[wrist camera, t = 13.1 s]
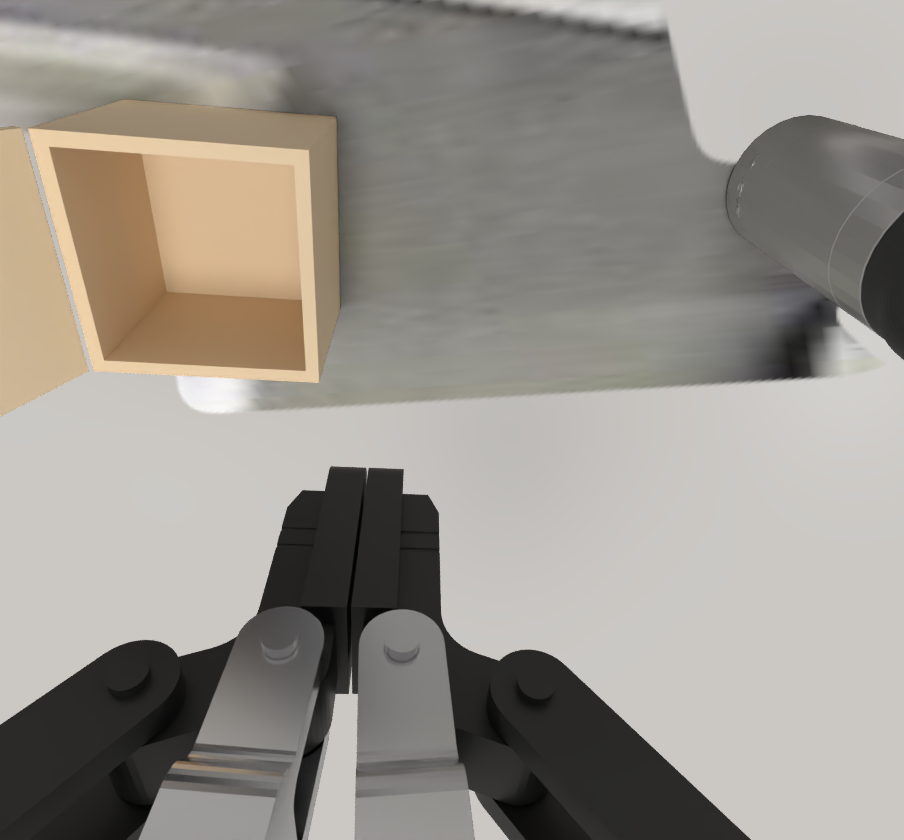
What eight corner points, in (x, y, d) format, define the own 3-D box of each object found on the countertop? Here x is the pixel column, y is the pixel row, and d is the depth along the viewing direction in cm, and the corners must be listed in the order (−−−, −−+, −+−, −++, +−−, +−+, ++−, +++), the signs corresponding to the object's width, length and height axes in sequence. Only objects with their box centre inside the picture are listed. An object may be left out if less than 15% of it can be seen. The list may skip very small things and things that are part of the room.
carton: (336, 116, 42) (308, 150, 32) (340, 307, 50) (318, 382, 40) (124, 99, 41) (27, 128, 31) (161, 297, 49) (93, 371, 39)
